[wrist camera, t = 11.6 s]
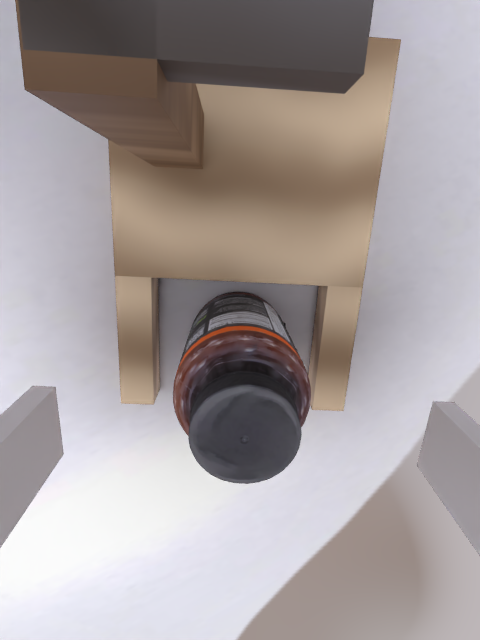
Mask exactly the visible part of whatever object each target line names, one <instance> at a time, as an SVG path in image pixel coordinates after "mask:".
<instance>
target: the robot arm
mask: <svg viewBox="0 0 480 640" xmlns="http://www.w3.org/2000/svg"><path fill="white" fill-rule="evenodd" d="M63 454H64V453H63V445H62V437H61V429H60V420H59V412H58V404H57V396H56V388H55V387H47V386H32V387H31V388H30V389H29V390H28V391H26V392H25V393H24V394H23V395H22V396H21V397H20V398H19V399H18V400H17V401H16V402H14V403H13V404H12V405H11V406H10V407H9V408H8V409H7V410H6V411H5V412H4V413H2V414H1V415H0V548H1V546H2V545H3V543H4V542H5V540H6V539H7V537H8V536H9V534H10V533H11V531H12V530H13V528H14V527H15V525H16V524H17V522H18V521H19V520H20V518H21V517H22V515H23V514H24V512H25V511H26V509H27V508H28V506H29V505H30V503H31V502H32V500H33V499H34V497H35V496H36V494H37V493H38V491H39V490H40V488H41V487H42V485H43V484H44V482H45V481H46V479H47V478H48V476H49V475H50V474H51V472H52V471H53V469H54V468H55V466H56V465H57V463H58V462H59V460H60V459H61V457H62V456H63ZM417 467H418V468H419V469H420V471H421V472H422V473H423V475H424V477H425V478H426V479H427V481H428V482H429V484H430V485H431V486H432V488H433V490H434V491H435V492H436V494H437V495H438V497H439V498H440V499H441V501H442V502H443V504H444V505H445V507H446V508H447V510H448V511H449V513H450V514H451V515H452V517H453V518H454V520H455V521H456V523H457V524H458V525H459V527H460V528H461V530H462V531H463V533H464V534H465V535H466V537H467V538H468V540H469V541H470V543H471V544H472V546H473V547H474V548H475V550H476V551H477V553H478V554H479V556H480V425H479V424H478V423H477V422H476V421H474V420H473V419H472V418H471V417H470V416H469V415H468V414H467V413H466V412H465V411H463V410H462V409H461V408H460V407H459V406H458V405H457V404H456V403H454V402H437V401H433V403H432V407H431V411H430V415H429V419H428V423H427V427H426V431H425V435H424V439H423V443H422V447H421V450H420V454H419V458H418V462H417Z"/></svg>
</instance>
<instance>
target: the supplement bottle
mask: <svg viewBox="0 0 480 640" xmlns="http://www.w3.org/2000/svg"><path fill="white" fill-rule="evenodd" d="M310 400H311V386H310V381H309V378H308V374H307V372H306V369H305V367H304V364H303V361H302V360H301V359H300V356H299V354H298V352H297V349H296V348H295V346H294V344H293V342H292V340H291V338H290V336H289V334H288V332H287V330H286V327H285V323H284V324H283V322H282V320H281V318H280V316H279V315H278V314H277V312H276V311H275V310H274V309H273V308H272V306H271V305H270V304H268V303H267V302H266V301H265V300H263V299H262V298H260V297H258V296H255V295H252V294H249V293H243V292H233V293H227V294H223V295H221V296H218V297H216V298H214V299H213V300H211V301H210V302H208V303H207V304H206V305H205V306H204V307H203V308H202V309H201V310H200V312H199V313H198V315H197V317H196V319H195V320H194V322H193V325H192V328H191V331H190V334H189V337H188V339H187V342H186V345H185V349H184V352H183V354H182V358H181V360H180V364H179V367H178V370H177V374H176V377H175V381H174V390H173V403H174V408H175V413H176V415H177V418H178V421H179V423H180V425H181V426H182V428H183V430H184V431H185V432H186V434H187V435H188V436H189V444H190V448H191V451H192V453H193V455H194V457H195V459H196V461H197V462H198V463H199V464H200V465H201V466H202V467H203V468H204V469H205V470H206V471H207V472H208V473H210V474H211V475H213V476H215V477H217V478H219V479H221V480H224V481H228V482H233V483H245V484H248V483H256V482H260V481H264V480H267V479H270V478H272V477H273V476H275V475H277V474H278V473H280V472H281V471H283V470H284V469H285V468H286V467H287V466H288V465H289V464H290V463H291V461H292V460H293V458H294V457H295V455H296V453H297V451H298V449H299V445H300V440H301V427H302V425H303V424H304V422H305V419H306V417H307V414H308V411H309V407H310Z"/></svg>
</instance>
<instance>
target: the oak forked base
mask: <svg viewBox="0 0 480 640" xmlns="http://www.w3.org/2000/svg"><path fill="white" fill-rule="evenodd" d="M400 43H401V39H388V38H375V37H369V40H368V47H367V55H366V62H365V70H364V75H363V76H362V77H361V78H360V79H359V80H358V81H357V82H356V83H355V84H354V85H353V86H352V87H351V88H350V89H349V90H348V91H347V92H346V93H345V94H339V93H324V92H310V91H296V90H281V89H267V88H253V87H238V86H224V85H210V84H196V87H197V90H198V94H199V98H200V101H201V105H202V109H203V112H204V148H203V169H188V168H171V167H154V166H152V165H151V164H149V163H147V162H146V161H144V160H142V159H141V158H139V157H137V156H136V155H134V154H132V153H131V152H129V151H127V150H126V149H124V148H122V147H121V146H119V145H117V144H116V143H114V142H112V141H110V140H109V139H108V144H109V165H110V185H111V206H112V226H113V247H114V267H115V288H116V308H117V329H118V349H119V370H120V391H121V403H124V404H153V405H154V402H155V400H156V397H157V395H158V392H159V390H160V378H159V303H158V278H172V279H193V280H214V281H235V282H256V283H277V284H298V285H319V289H318V297H317V305H316V314H315V322H314V331H313V339H312V347H311V356H310V364H309V373H308V378H309V381H310V386H311V400H310V406H311V408H312V410H332V411H343V410H344V404H345V397H346V391H347V384H348V378H349V371H350V365H351V358H352V352H353V346H354V339H355V333H356V326H357V320H358V313H359V307H360V300H361V294H362V288H363V281H364V275H365V268H366V262H367V255H368V249H369V242H370V236H371V230H372V223H373V217H374V210H375V204H376V197H377V191H378V185H379V178H380V172H381V165H382V159H383V152H384V146H385V139H386V133H387V127H388V120H389V114H390V107H391V101H392V94H393V88H394V81H395V75H396V69H397V62H398V56H399V49H400Z"/></svg>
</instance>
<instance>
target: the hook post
mask: <svg viewBox="0 0 480 640" xmlns="http://www.w3.org/2000/svg"><path fill="white" fill-rule="evenodd" d="M15 2H16V11H17V21H18V30H19V40H20V49H21V59H22V68H23V77H24V87H25V90H26V91H28V92H30V93H31V94H33V95H35V96H37V97H38V98H40V99H42V100H43V101H45V102H47V103H48V104H50V105H52V106H53V107H55V108H57V109H58V110H60V111H62V112H63V113H65V114H67V115H68V116H70V117H72V118H73V119H75V120H77V121H79V122H80V123H82V124H84V125H85V126H87V127H89V128H90V129H92V130H94V131H95V132H97V133H99V134H100V135H102V136H104V137H105V138H107V139H109V140H110V141H112V142H114V143H116V144H117V145H119V146H121V147H122V148H124V149H126V150H127V151H129V152H131V153H132V154H134V155H136V156H137V157H139V158H141V159H142V160H144V161H146V162H147V163H149V164H151V165H152V166H154V167H171V168H188V169H203V148H204V112H203V109H202V105H201V101H200V98H199V94H198V90H197V87H196V84H210V85H224V86H238V87H253V88H267V89H281V90H296V91H310V92H324V93H339V94H345V93H346V92H347V91H348V90H349V89H350V88H351V87H352V86H353V85H354V84H355V83H356V82H357V81H358V80H359V79H360V78H361V77H362V76H363V75H364V70H365V62H366V55H367V47H368V40H369V32H370V25H371V17H372V9H373V2H374V0H15Z"/></svg>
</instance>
